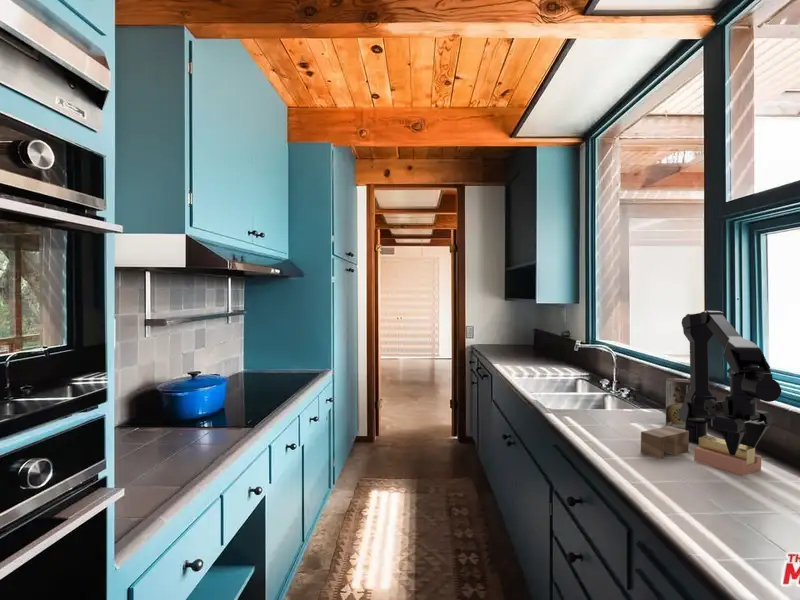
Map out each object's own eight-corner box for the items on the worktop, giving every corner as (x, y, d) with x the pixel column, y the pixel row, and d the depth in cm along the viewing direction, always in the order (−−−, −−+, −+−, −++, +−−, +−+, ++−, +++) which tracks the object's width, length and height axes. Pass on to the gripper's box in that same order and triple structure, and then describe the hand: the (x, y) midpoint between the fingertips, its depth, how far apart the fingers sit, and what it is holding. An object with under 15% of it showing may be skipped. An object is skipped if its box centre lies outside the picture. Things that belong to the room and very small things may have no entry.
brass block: (698, 451, 132) (698, 437, 132) (706, 449, 134) (706, 435, 134) (746, 465, 122) (747, 450, 122) (754, 463, 124) (755, 447, 124)
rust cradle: (712, 455, 135) (713, 443, 135) (761, 469, 125) (761, 456, 125) (694, 460, 131) (694, 447, 131) (742, 475, 120) (742, 461, 120)
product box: (696, 425, 165) (697, 379, 165) (695, 430, 160) (696, 382, 159) (666, 421, 170) (667, 376, 170) (664, 426, 165) (665, 379, 164)
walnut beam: (668, 445, 144) (668, 425, 143) (688, 451, 138) (688, 431, 138) (640, 452, 137) (641, 431, 137) (660, 458, 132) (661, 437, 132)
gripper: (729, 384, 136) (727, 438, 136) (691, 390, 127) (689, 448, 127) (774, 392, 126) (773, 450, 126) (736, 399, 117) (735, 461, 118)
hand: (741, 452), depth 125 cm, fingers open, 9 cm apart
